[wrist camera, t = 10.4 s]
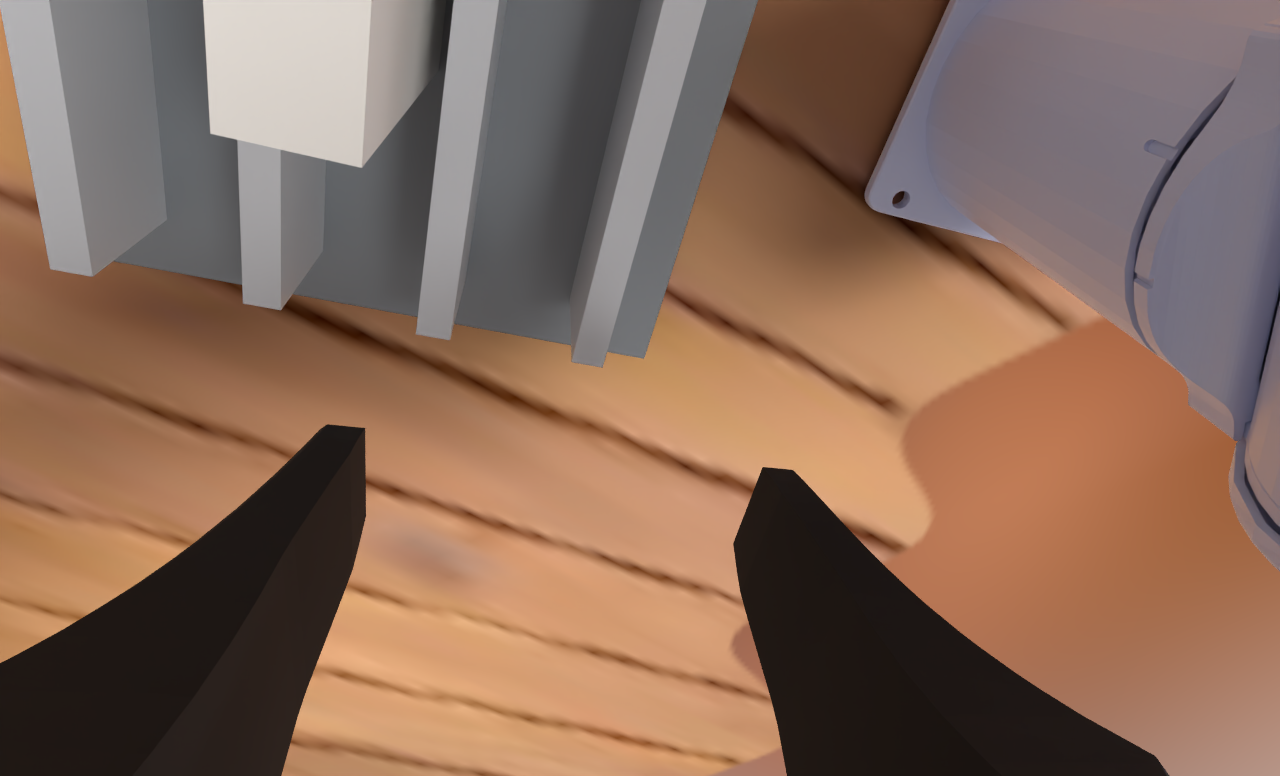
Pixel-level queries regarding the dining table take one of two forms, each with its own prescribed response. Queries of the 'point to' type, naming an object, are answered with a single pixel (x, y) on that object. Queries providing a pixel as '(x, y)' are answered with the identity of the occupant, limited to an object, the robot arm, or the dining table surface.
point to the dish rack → (395, 164)
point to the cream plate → (318, 71)
